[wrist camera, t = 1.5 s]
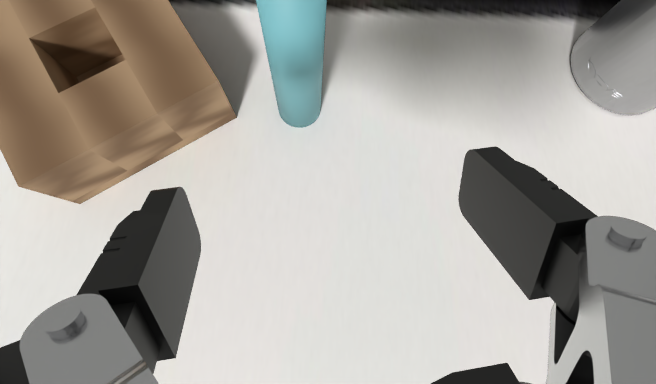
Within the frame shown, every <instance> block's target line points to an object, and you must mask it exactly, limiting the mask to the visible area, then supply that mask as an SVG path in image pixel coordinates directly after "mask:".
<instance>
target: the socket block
mask: <svg viewBox="0 0 656 384" xmlns="http://www.w3.org/2000/svg"><path fill="white" fill-rule="evenodd" d="M235 118H237V117H236V115H235V113H234V111H233V109H232V107H231V105H230V103H229V101H228V99H227V97H226V95H225V93H224V91H223V88H222V86H221V84H220V82H219V80H218V79H217V77H216V76H215V74H214V72H213V71H212V69H211V68H210V66H209V64H208V63H207V61H206V60H205V58H204V57H203V55H202V53H201V52H200V50H199V49H198V47H197V45H196V44H195V42H194V41H193V39H192V37H191V36H190V34H189V33H188V31H187V29H186V28H185V26H184V25H183V23H182V22H181V20H180V18H179V17H178V15H177V14H176V12H175V10H174V9H173V7H172V6H171V4H170V2H169V1H168V0H0V149H1V151H2V153H3V156H4V158H5V160H6V162H7V164H8V166H9V168H10V170H11V172H12V174H13V176H14V178H15V180H16V182H17V184H18V186H19V187H22V188H26V189H29V190H33V191H36V192H40V193H43V194H47V195H50V196H54V197H57V198H61V199H64V200H68V201H71V202H75V203H78V204H81V203H83V202H84V201H86V200H88V199H90V198H92V197H93V196H95V195H97V194H99V193H101V192H102V191H104V190H106V189H108V188H110V187H112V186H113V185H115V184H117V183H119V182H121V181H122V180H124V179H126V178H128V177H130V176H131V175H133V174H135V173H137V172H139V171H141V170H142V169H144V168H146V167H148V166H150V165H151V164H153V163H155V162H157V161H159V160H161V159H162V158H164V157H166V156H168V155H170V154H171V153H173V152H175V151H177V150H179V149H180V148H182V147H184V146H186V145H188V144H190V143H191V142H193V141H195V140H197V139H199V138H200V137H202V136H204V135H206V134H208V133H209V132H211V131H213V130H215V129H217V128H219V127H220V126H222V125H224V124H226V123H228V122H229V121H231V120H233V119H235Z"/></svg>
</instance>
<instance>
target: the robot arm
mask: <svg viewBox="0 0 656 384" xmlns="http://www.w3.org/2000/svg"><path fill="white" fill-rule="evenodd" d="M571 68H572V72H573V75H574V78H575V80H576V82H577V84H578V86H579V87H580V89H581V90H582V91H583V93H584V94H585V95H586V96H587V97H588V98H589V99H590V100H591V101H593V102H594V103H596V104H597V105H598V106H600V107H602V108H604V109H606V110H608V111H610V112H614V113H618V114H623V115H636V114H642V113H645V112H647V111H650V110H652V109H654V108H656V0H621V1H620V2H618V3H617V4H616V5H615V6H614V7H613V8H612V9H610V10H609V11H608V12H607V13H606V14H605V15H604V16H602V17H601V18H600V19H599V20H598V21H597V22H596V23H594V24H593V25H592V26H591V27H590V28H589V29H588V30H586V31H585V32H584V33H583V34H582V35H581V36H580V37H579V38H578V39H577V41H576V43H575V44H574V46H573V50H572V53H571ZM459 206H460V210H461V212H462V214H463V216H464V217H465V219H466V220H467V221H468V223H469V224H470V225H471V226H472V228H473V229H474V230H475V231H476V233H477V234H478V235H479V237H480V238H481V239H482V240H483V242H484V243H485V244H486V245H487V247H488V248H489V249H490V251H491V252H492V253H493V254H494V256H495V257H496V258H497V259H498V261H499V262H500V263H501V265H502V266H503V267H504V268H505V270H506V271H507V272H508V273H509V275H510V276H511V277H512V279H513V280H514V281H515V282H516V284H517V285H518V286H519V287H520V289H521V290H522V291H523V293H524V294H525V295H526V296H527V298H528V299H529V300H532V299H538V298H544V297H551V298H552V300H553V301H554V304H553V306H552V309H551V314H550V333H549V353H548V372H547V380H546V384H656V230H654V229H652V228H650V227H648V226H646V225H644V224H642V223H639V222H637V221H634V220H630V219H627V218H622V217H616V216H599V217H598V216H597V215H595V214H594V213H593V212H591V211H590V210H589V209H587V208H586V207H585V206H583V205H582V204H581V203H579V202H578V201H577V200H575V199H574V198H573V197H571V196H570V195H569V194H567V193H566V192H565V191H563V190H562V189H559V188H558V186H557V185H555V184H554V183H553V182H551V181H548V180H547V178H546V177H545V176H544V175H542V174H541V173H540V172H538V171H537V170H536V169H534V168H532V167H529V166H527V165H525V164H522V163H520V162H518V161H515V160H514V159H512V158H511V157H510V156H509V155H507V154H506V153H505V152H504V151H502V150H501V149H500V148H498V147H488V148H480V149H473V150H469V151H468V152H467V153H466V155H465V159H464V165H463V172H462V178H461V184H460V191H459ZM200 253H201V240H200V234H199V231H198V228H197V225H196V222H195V219H194V216H193V213H192V210H191V207H190V204H189V201H188V198H187V195H186V193H185V191H184V189H183V188H182V187H175V188H168V189H160V190H153V191H151V192H150V193H149V195H148V197H147V199H146V201H145V202H144V204H143V206H142V208H141V210H140V211H133V212H132V213H131V214H130V215H128V216H127V217H126V218H125V219H124V220H123V221H121V222H120V223H119V224H118V225H117V227H116V229H115V230H114V232H113V234H112V236H111V237H110V241H108V242H107V244H106V246H105V247H104V249H103V253H101V254H100V256H99V258H98V259H97V261H96V263H95V265H94V266H93V268H92V270H91V271H90V273H89V275H88V276H87V278H86V280H85V282H84V283H83V285H82V287H81V288H80V290H79V292H78V293H77V295H76V296H73V297H70V298H67V299H65V300H63V301H61V302H58V303H56V304H55V305H53V306H51V307H50V308H48V309H47V310H45V311H44V312H43V313H41V314H40V315H39V316H38V317H37V318H36V319H35V320H34V321H32V322H31V324H30V325H29V326H28V327H27V329H26V330H25V332H24V333H23V335H22V338H21V340H19V341H17V342H14V343H11V344H9V345H6V346H4V347H1V348H0V384H158V382H157V380H156V379H155V377H154V376H153V373H154V369H155V366H156V362H157V361H160V360H166V359H172V358H176V354H177V350H178V345H179V341H180V337H181V333H182V329H183V325H184V320H185V316H186V312H187V308H188V304H189V299H190V295H191V291H192V287H193V283H194V278H195V274H196V270H197V266H198V262H199V257H200ZM431 384H530V383H526V382H519V381H518V380H517V378H516V376H515V375H514V373H513V371H512V370H511V368H510V366H509V365H508V363H503V364H497V365H492V366H486V367H481V368H475V369H470V370H464V371H459V372H454V373H451V374H449V375H447V376H445V377H443V378H441V379H439V380H437V381H435V382H433V383H431Z"/></svg>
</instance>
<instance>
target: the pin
mask: <svg viewBox="0 0 656 384" xmlns="http://www.w3.org/2000/svg"><path fill="white" fill-rule="evenodd" d="M256 2H257V7H258V12H259V17H260V22H261V27H262V32H263V36H264V41H265V46H266V51H267V56H268V61H269V66H270V71H271V75H272V80H273V85H274V90H275V95H276V100H277V105H278V110H279V114H280V116H281V118H282V119H283V120H284V121H285V122H286V123H287V124H289V125H291V126H293V127H306V126H309V125H311V124H312V123H314V122H315V121H316V119H317V118H318V116H319V114H320V109H321V91H322V73H323V55H324V38H325V20H326V2H327V0H256Z"/></svg>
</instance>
